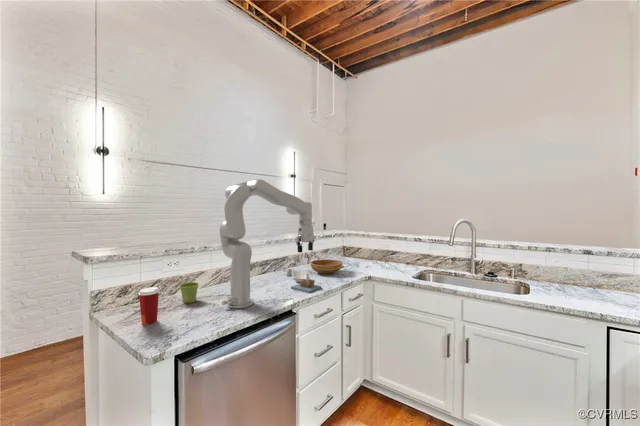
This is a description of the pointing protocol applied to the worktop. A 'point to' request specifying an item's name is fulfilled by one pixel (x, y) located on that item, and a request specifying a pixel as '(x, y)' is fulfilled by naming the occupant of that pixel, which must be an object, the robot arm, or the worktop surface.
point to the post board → (307, 290)
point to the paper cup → (149, 305)
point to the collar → (307, 283)
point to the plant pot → (189, 291)
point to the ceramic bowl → (326, 266)
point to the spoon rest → (296, 274)
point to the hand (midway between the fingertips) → (305, 251)
